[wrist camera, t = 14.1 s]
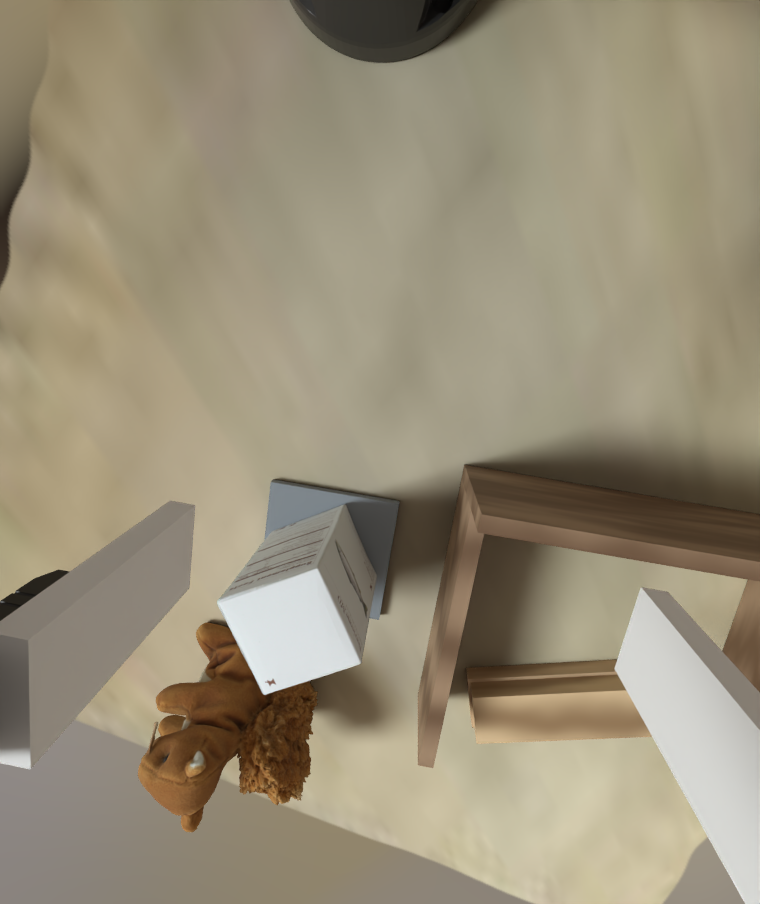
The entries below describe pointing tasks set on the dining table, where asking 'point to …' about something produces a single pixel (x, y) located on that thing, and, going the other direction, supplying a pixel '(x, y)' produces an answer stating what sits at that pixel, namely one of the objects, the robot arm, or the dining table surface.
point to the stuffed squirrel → (227, 733)
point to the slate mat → (366, 512)
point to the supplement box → (302, 601)
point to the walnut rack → (587, 529)
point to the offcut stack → (551, 703)
